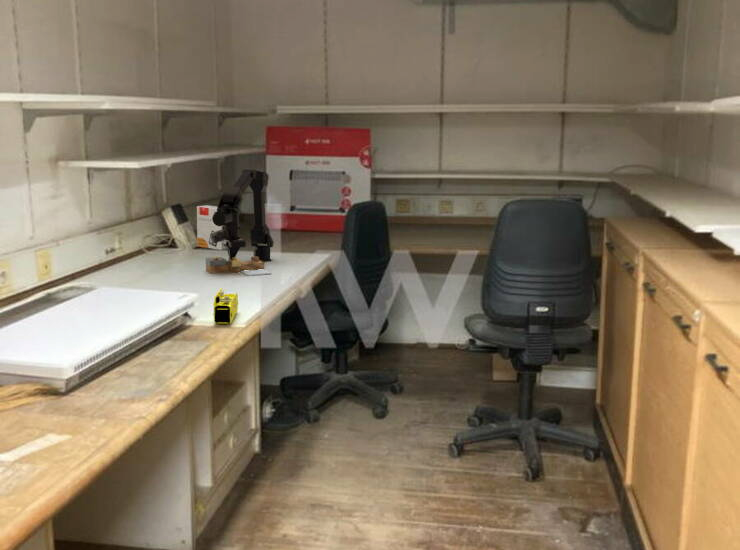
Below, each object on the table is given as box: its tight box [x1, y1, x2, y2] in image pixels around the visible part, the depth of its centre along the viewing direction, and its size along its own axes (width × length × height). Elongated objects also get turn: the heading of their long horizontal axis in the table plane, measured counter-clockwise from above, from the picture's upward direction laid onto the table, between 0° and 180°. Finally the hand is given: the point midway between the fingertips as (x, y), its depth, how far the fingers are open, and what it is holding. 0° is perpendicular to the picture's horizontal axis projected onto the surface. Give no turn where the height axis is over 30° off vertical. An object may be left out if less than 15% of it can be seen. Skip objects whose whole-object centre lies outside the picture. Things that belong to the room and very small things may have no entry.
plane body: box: [205, 256, 265, 274], centre depth 287 cm, size 23×12×5 cm, turn 119°
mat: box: [240, 269, 272, 277], centre depth 282 cm, size 10×8×1 cm
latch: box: [227, 256, 242, 267], centre depth 282 cm, size 4×5×3 cm
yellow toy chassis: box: [213, 287, 239, 325], centre depth 213 cm, size 16×6×8 cm, turn 3°
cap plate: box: [205, 256, 227, 266], centre depth 283 cm, size 7×6×3 cm
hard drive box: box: [196, 204, 227, 251], centre depth 339 cm, size 16×8×20 cm, turn 62°
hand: (231, 261), depth 285 cm, fingers closed
